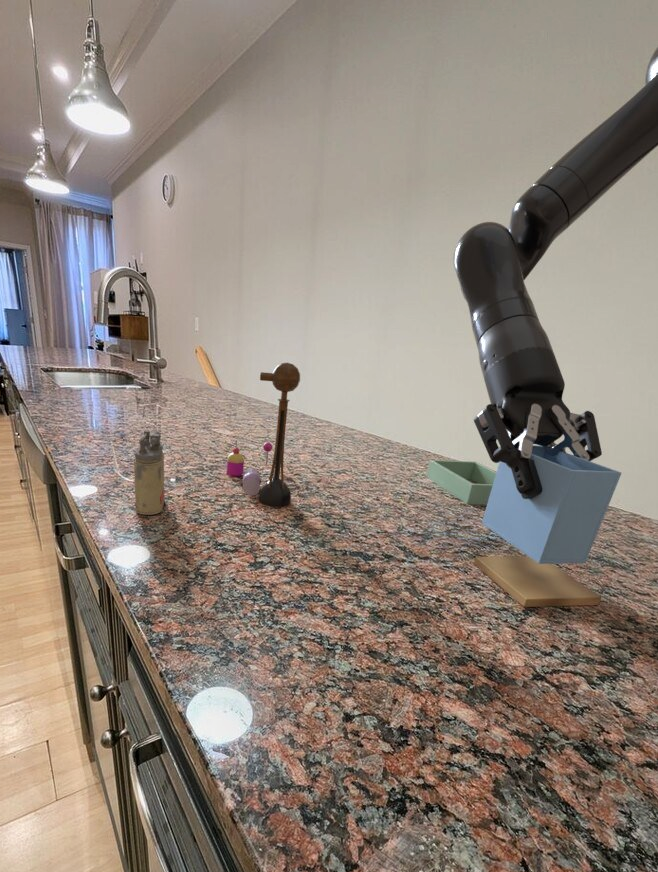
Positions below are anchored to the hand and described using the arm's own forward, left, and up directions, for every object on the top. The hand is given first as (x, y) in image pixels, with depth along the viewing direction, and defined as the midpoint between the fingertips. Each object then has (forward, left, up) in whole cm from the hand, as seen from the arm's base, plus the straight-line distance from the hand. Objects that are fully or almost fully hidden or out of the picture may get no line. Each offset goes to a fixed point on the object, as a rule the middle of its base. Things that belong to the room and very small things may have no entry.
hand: (559, 496), depth 47 cm
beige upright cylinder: (+43, -21, -11) cm, 50 cm away
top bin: (0, -2, -6) cm, 7 cm away
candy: (+28, -35, -11) cm, 46 cm away
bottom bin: (-8, -26, -10) cm, 29 cm away
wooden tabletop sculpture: (+26, -24, -11) cm, 37 cm away
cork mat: (0, 0, -10) cm, 10 cm away
